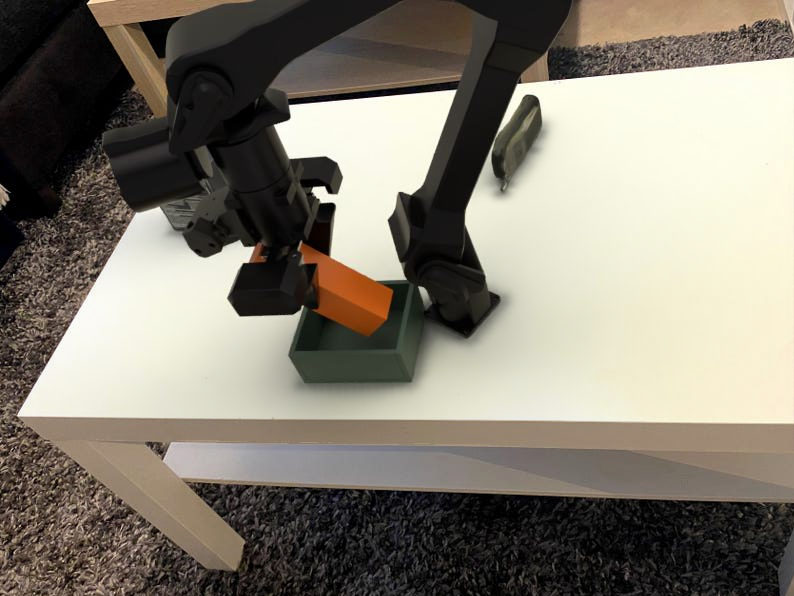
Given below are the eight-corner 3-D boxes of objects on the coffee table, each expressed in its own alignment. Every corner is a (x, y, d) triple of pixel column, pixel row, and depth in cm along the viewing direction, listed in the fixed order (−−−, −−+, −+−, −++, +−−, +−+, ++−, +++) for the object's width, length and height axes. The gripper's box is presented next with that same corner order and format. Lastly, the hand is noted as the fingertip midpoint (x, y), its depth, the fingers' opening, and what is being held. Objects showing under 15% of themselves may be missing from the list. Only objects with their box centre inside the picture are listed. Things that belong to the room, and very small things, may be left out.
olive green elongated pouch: (521, 90, 98) (481, 159, 90) (542, 91, 97) (504, 161, 89) (525, 122, 102) (487, 191, 94) (546, 124, 101) (509, 194, 93)
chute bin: (426, 308, 84) (415, 278, 80) (412, 382, 78) (400, 353, 74) (325, 311, 86) (310, 282, 82) (304, 383, 80) (287, 355, 76)
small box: (260, 203, 100) (227, 140, 92) (238, 237, 97) (202, 173, 89) (195, 199, 103) (157, 137, 95) (172, 231, 100) (131, 169, 92)
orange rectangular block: (393, 290, 77) (269, 225, 71) (386, 319, 74) (257, 255, 69) (375, 308, 80) (254, 247, 74) (368, 337, 77) (242, 276, 71)
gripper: (207, 112, 70) (270, 232, 82) (133, 252, 59) (219, 366, 71) (316, 103, 68) (365, 227, 80) (261, 246, 57) (327, 365, 69)
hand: (319, 292), depth 75 cm, fingers closed on orange rectangular block, 4 cm apart
